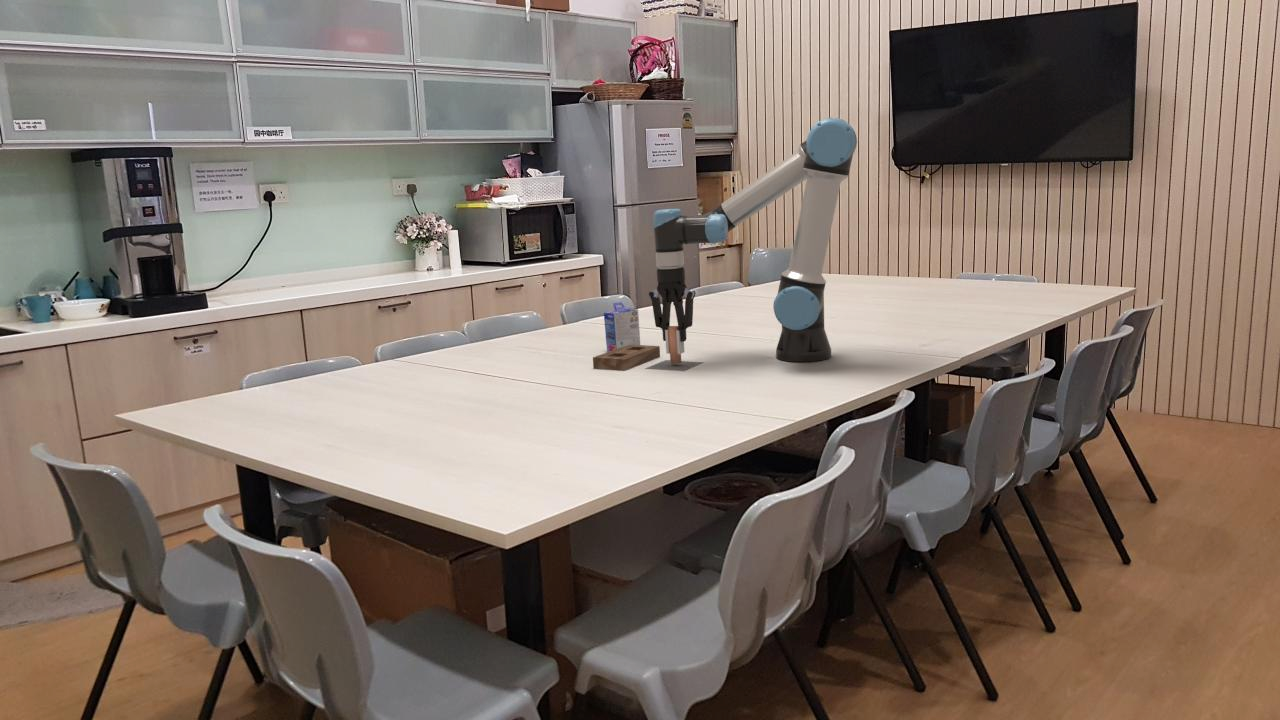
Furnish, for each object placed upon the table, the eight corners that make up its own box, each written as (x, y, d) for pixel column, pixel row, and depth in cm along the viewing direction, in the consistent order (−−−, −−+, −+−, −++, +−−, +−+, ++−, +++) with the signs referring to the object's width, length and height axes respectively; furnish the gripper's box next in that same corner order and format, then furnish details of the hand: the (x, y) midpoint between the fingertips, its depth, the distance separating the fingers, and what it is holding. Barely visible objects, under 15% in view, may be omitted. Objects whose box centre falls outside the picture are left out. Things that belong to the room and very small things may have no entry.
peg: (683, 361, 272) (681, 326, 271) (678, 364, 270) (676, 327, 268) (673, 361, 274) (671, 325, 272) (668, 363, 271) (666, 327, 270)
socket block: (660, 358, 286) (659, 346, 285) (624, 372, 269) (624, 359, 268) (630, 356, 291) (629, 344, 290) (593, 369, 274) (592, 357, 273)
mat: (704, 363, 274) (703, 362, 274) (684, 372, 264) (684, 371, 264) (665, 361, 280) (665, 360, 280) (644, 369, 270) (644, 368, 270)
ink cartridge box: (629, 346, 306) (627, 300, 303) (641, 348, 302) (639, 301, 299) (605, 352, 300) (602, 304, 297) (617, 353, 296) (614, 305, 293)
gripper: (702, 265, 266) (707, 351, 271) (651, 265, 274) (656, 349, 279) (690, 268, 260) (695, 356, 264) (638, 269, 268) (643, 354, 272)
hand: (675, 352), depth 271 cm, fingers closed on peg, 3 cm apart
